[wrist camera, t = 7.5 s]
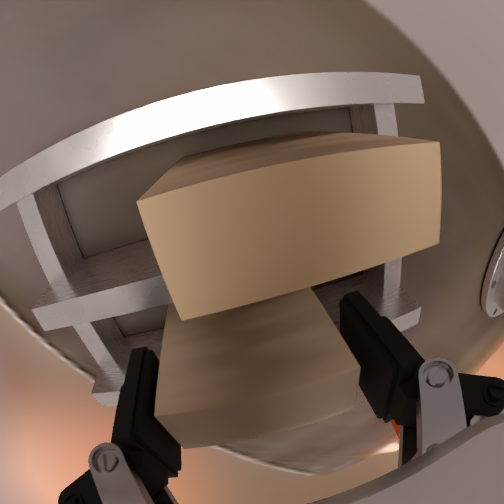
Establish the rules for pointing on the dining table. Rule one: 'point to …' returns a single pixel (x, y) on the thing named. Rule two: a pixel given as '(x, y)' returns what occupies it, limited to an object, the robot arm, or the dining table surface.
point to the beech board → (253, 371)
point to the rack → (141, 253)
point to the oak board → (289, 214)
